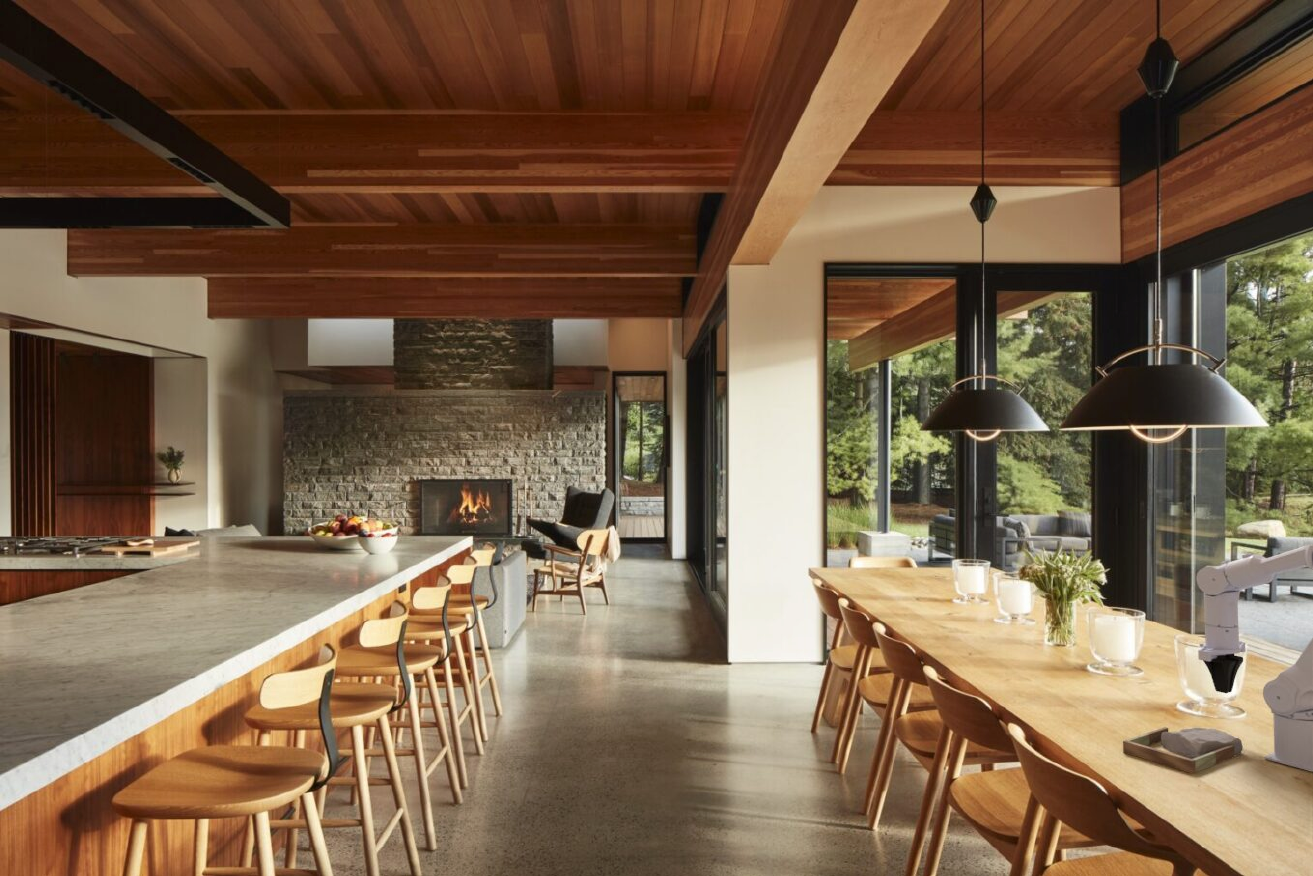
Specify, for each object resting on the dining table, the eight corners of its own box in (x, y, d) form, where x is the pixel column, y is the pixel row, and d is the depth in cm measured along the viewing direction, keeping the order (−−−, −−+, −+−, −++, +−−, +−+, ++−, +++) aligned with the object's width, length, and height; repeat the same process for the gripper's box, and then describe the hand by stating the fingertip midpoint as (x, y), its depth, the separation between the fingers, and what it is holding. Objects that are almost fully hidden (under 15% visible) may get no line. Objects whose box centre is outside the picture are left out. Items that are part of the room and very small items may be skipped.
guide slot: (1234, 757, 158) (1234, 745, 158) (1192, 773, 151) (1192, 761, 151) (1165, 738, 169) (1165, 727, 170) (1123, 752, 162) (1122, 741, 162)
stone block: (1156, 755, 165) (1201, 762, 156) (1152, 730, 166) (1196, 736, 157) (1202, 750, 169) (1249, 757, 159) (1198, 726, 170) (1244, 731, 160)
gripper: (1218, 617, 177) (1220, 681, 176) (1181, 625, 169) (1183, 692, 169) (1255, 623, 171) (1258, 689, 170) (1219, 631, 163) (1221, 701, 163)
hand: (1223, 691), depth 169 cm, fingers closed
